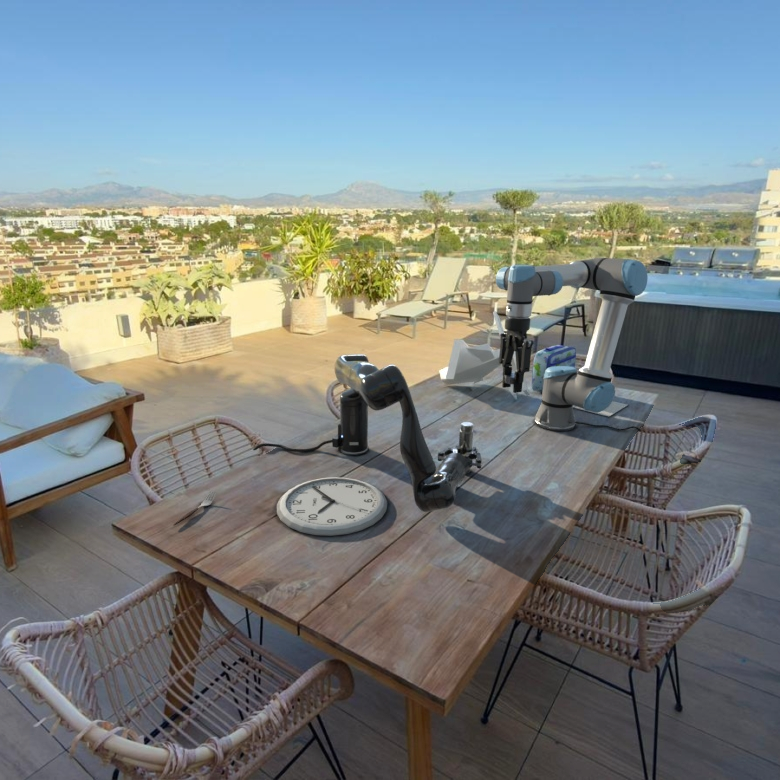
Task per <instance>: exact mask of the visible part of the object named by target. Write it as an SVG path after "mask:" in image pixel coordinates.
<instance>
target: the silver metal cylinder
mask: <svg viewBox="0 0 780 780" xmlns="http://www.w3.org/2000/svg"><path fill="white" fill-rule="evenodd" d="M473 428H474V424H473V423H472V422H469V421H464V422H461V423H460V429H459V435H458V445H459V450H458V453H459V454H465V453H467V452H471V450H472V449H473V442H474V441H473V440H474V430H473ZM471 469H472V467H471V468H469V469H468V471H467V473H466V475H469V474H471Z"/></svg>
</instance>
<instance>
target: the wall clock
mask: <svg viewBox="0 0 780 780" xmlns="http://www.w3.org/2000/svg"><path fill="white" fill-rule="evenodd" d="M387 509H388V500H387V498H386V496H385V494H384V493H383V492H382V491H381V490H380V489H379V488H377V487H376V486H374V485H372V484H371V483H369V482H365V481H362V480H359V479H355V478H349V477H338V476H337V477H335V476H333V477H332V476H331V477H322V478H317V479H312V480H307V481H305V482H302V483H299V484H297V485H295V486H293V487H292V488H290V489H288V490H287V491H286V492H285V493H284V494H283V495H281V496H280V498H279V499H278V502H277V503H276V515H277V517H278V518H279V520H280V521H281V522H282V523H283V524H285V525H286V526H287V527H288V528H290V529H293V530H295V531H297V532H299V533H303V534H308V535H312V536H327V537H328V536H329V537H331V536H332V537H333V536H342V535H350V534H352V533H356V532H361V531H363V530H366V529H368V528H369V527H372V526H373V525H375V524H376V523H378V522H379V521H380V520H381V519H382V518H383V517H384V516H385V514H386V512H387Z"/></svg>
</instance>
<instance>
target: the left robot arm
mask: <svg viewBox="0 0 780 780" xmlns="http://www.w3.org/2000/svg"><path fill="white" fill-rule="evenodd" d="M333 369H334V375H335V378H336V380H337V381H338V382H339V384H342V385H346V386H347V387H349V388H348V389H347V390H344V391H342V392H341V393H340V395H339V423H338V424H337V434H336V435H335V436H333V437H332V439H327V440H325V441H322V442H320V443H319V444H318V445H316V446H314V447H310V448H291V447H289V446H285V445H283V444H279V443H269V442H268V443H267V442H266V443H260V444H258V445H256V446H255V447H254V448H253V449H252V451H257V450H258V449H260V448H262V447H263V448H264V447H272V448H280V449H283V450H285V451H289V452H295V453H308V452H313V451H316V450H319V449H320V448H321V447H323V446H324V445H327V444H331V445H332V446H331V447H332V448H336V449H337V451H338V452H341V453H342V454H344V455H347V456H360V455H365V454H366V453H367V452H368V451H369V441H368V439H369V438H368V437H369V416H368V415H369V408H370V409H372V410H374V411H375V412H376V411H377V412H378V411H382V410H384V409H386V408H389V407H391V406H393V405H395V404H396V403H399V405H400V408H401V417H402V420H401V431H400V439H399V451H400V455H401V458H402V460H403V463H404V465H405V467H406V469H407V472H408V473H409V476H410V480H411V485H412V486H411V487H412V492H413V500H414V503H415V505H416V507H417V508H418V509H419V510H420V511H422V512H423V513H430V512H434V511H439V510H440V511H441V510H445V509H449V508H450V507H452V506H453V505H454V504H455V502H456V493H457V492H456V490H457V488H458V486H459V485H460V483H462V481H463V480H464V479H465V477H466V475H467V474H466V473H467V471H468V469H469V468H471V469H472V467H473V466H474V467H476V469H478V470H479V469H482V461H483V460H482V456H481V453H480V452H478V448H477V447H476V446H472V450H471V452H467V453H465V454H459V453H458V450H459V444H457V445H455V447H453V448H451V447H446V448H444V449H442V450H441V451H438V452H437V461H438V462H441V463H440V464H439V466H438V467H437V465H436V462H435V460H434V458H433V456H432V453H431V451H430V449H429V447H428V444H427V442H426V440H425V437H424V434H423V431H422V428H421V424H420V420H419V417H418V414H417V410H416V406H415V404H414V401H413V398H412V394H411V391H410V387H409V385H408V382H407V380H406V378H405V376H404V374H403V372H402V371H401V369H400V368H399V367H398V366H397V365H394V364H389V365H387V366H384V367H381V368H380V369H379V367H377V366H376V365H374V364H373V363H371V362H369V358H368V356H367V355H366V354H343V355H340V356H338V357H337V358H336V359H335V362H334V368H333ZM429 478H431V479H430V483H427V482H426V481H425V480H428V479H429Z"/></svg>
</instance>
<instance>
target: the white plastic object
mask: <svg viewBox="0 0 780 780" xmlns="http://www.w3.org/2000/svg"><path fill="white" fill-rule="evenodd" d="M492 315H493V319H494V321H495V324H496V325H495V326H496V328H497V332H498V335H499V336H500V334H501V333H505V331H504V328H503V325H502V321H501V318H500V315H499V314H498V312H497V311H496V310H495V311H492ZM499 356H500V348H498V349H496V350H495V349H493V348H492V347H491V346H490V344H489V343H488V342H487V343H483V344H479V345H473V346H469V345H468V343H466V342H465V340H464V339H463V338H460V339H458V338H454V340H453V344H452V349H451V353H450V357H449V362H448V366H446V367H444V368H442V369H440V370H439V371H438V372H439V376H440V381H442V383H443V384H444V385H445V386H449V385H458V384H467V383H468V384H469V383H473V384H477V383H480V382H482V381H484V378H485V377H486V376H487V375H489V374H490V373H492V372H494V371H495V370H496V369H497V368H499V367H500V366H502V364H500V363H499ZM512 361H513V363H514V366H515V369H516V370H517V367H516V353H515V351H514V354H513V358H512ZM502 368H503V366H502ZM520 369H521V368H520ZM513 387H514V385H512V384H511V387H508V390H509V393H510V394H511V395H512V397H513V398H514V399H515V400H517V393H514V392H513ZM528 387H529V386H528V384H527V381H526V378H525V377H524V379H523V383H522V391H523V393H524V395H525V396H526V397H528V396H531V395H530V390H529V388H528Z"/></svg>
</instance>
